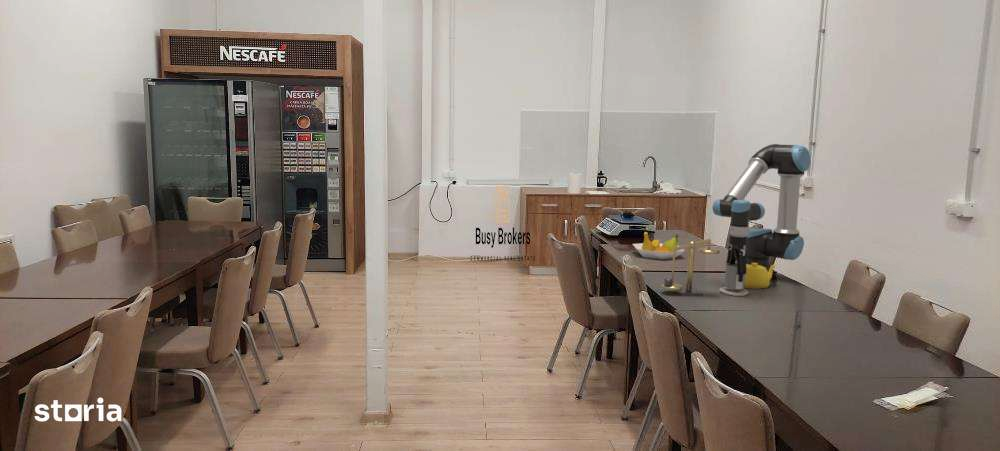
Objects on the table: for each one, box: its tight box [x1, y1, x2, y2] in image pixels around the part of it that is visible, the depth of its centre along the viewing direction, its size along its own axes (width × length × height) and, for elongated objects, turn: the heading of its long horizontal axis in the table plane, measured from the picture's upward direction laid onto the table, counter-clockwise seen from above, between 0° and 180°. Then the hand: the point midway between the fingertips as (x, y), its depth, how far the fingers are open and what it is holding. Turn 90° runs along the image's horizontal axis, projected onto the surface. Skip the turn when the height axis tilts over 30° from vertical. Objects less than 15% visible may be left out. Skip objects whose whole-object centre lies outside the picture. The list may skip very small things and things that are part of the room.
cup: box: [723, 262, 745, 289], centre depth 311 cm, size 8×8×10 cm
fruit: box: [632, 231, 686, 261], centre depth 391 cm, size 30×26×14 cm
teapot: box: [744, 263, 778, 290], centre depth 327 cm, size 22×16×11 cm
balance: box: [660, 238, 721, 297], centre depth 307 cm, size 24×9×24 cm, turn 96°
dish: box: [719, 286, 749, 297], centre depth 312 cm, size 12×12×1 cm
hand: (734, 286), depth 312 cm, fingers closed on cup, 8 cm apart
